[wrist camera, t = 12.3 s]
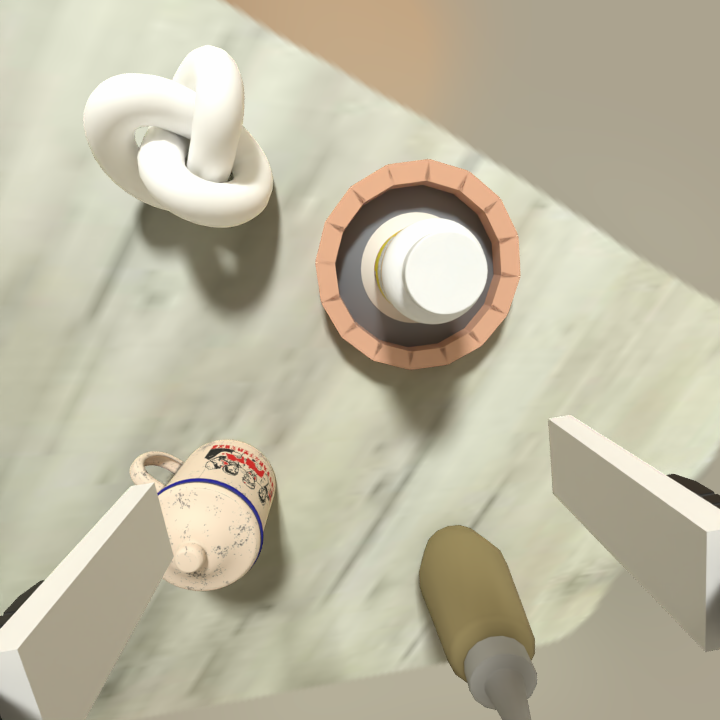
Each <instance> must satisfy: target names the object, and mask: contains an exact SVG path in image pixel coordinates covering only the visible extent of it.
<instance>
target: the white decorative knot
mask: <svg viewBox="0 0 720 720" xmlns="http://www.w3.org/2000/svg"><path fill="white" fill-rule="evenodd" d="M243 116H244V85H243V81H242V78H241V75H240V72H239V69H238V66H237V64H236V62H235V61H234V59H233V58H232V57H231V56H230V55H229V54H228V53H227V52H226V51H225V50H223V49H221V48H217V47H214V46H210V45H206V46H203V47H200V48H197V49H195V50H193V51H191V52H190V53H189V54H188V55H187V56H186V58H185V59H184V60H183V62H182V63H181V65H180V66H179V68H178V70H177V72H176V73H175V75H174V77H173V79H172V80H169V79H166V78H163V77H159V76H154V75H147V74H135V73H129V74H121V75H117V76H114V77H111V78H109V79H107V80H105V81H104V82H102V83H101V84H100V85H99V86H98V87H97V88H96V89H95V90H94V91H93V92H92V94H91V95H90V97H89V99H88V101H87V103H86V106H85V108H84V116H83V125H84V130H85V135H86V138H87V141H88V144H89V147H90V149H91V151H92V154H93V156H94V158H95V160H96V161H97V163H98V164H99V165H100V167H101V168H102V170H103V171H104V172H105V173H106V174H107V175H108V177H109V178H110V179H111V180H112V181H113V182H114V183H115V184H117V185H118V186H119V187H120V188H122V189H123V190H124V191H125V192H127V193H128V194H130V195H132V196H133V197H135V198H136V199H138V200H140V201H142V202H145V203H147V204H149V205H151V206H153V207H156V208H160V209H163V210H168V211H170V212H171V213H173V214H174V215H176V216H178V217H180V218H182V219H184V220H187V221H190V222H193V223H195V224H198V225H203V226H208V227H219V228H226V227H233V226H238V225H241V224H243V223H246V222H248V221H250V220H251V219H253V218H254V217H256V216H257V215H259V214H260V213H261V212H262V211H263V210H264V208H265V207H266V206H267V204H268V201H269V198H270V195H271V193H272V190H273V176H272V171H271V168H270V165H269V162H268V160H267V158H266V156H265V154H264V152H263V150H262V149H261V147H260V146H259V144H258V143H257V142H256V140H255V139H254V138H253V136H252V135H251V134H250V133H249V132H248V131H247V130H246V129H245V127H243V126H242V124H243ZM147 126H150V127H149V128H148V130H147V132H146V134H145V136H144V138H143V140H142V143H141V145H140V148H139V147H138V145H137V143H136V141H135V131H136V130H137V129H138V128H141V127H147ZM188 152H189V153H188ZM187 155H188V158H187ZM186 158H187V162H186V165H185V161H186ZM231 171H232V174H233V178H234V179H233V180H232V181H229V182H227V181H228V179H229V176H230V173H231Z"/></svg>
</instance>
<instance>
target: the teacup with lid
mask: <svg viewBox="0 0 720 720" xmlns="http://www.w3.org/2000/svg"><path fill="white" fill-rule="evenodd" d="M148 465H156V466H160V467H163V468H165V469H167V470H169V471H171V472H172V473H174V474H175V475H174V477H173V478H172V479H171V480H170V482H169V483H168V484H167V485H164V484H162V483H161V482H159V481H158V480H156V479H155V478H153V477H152V476H151V475H150V474H148V472H147V471H146V470H145V468H144V466H148ZM130 476H131V478H132V480H133V482H134V483H135V484H136V485H141V484H147V483H153V482H154V483H155V487H156V491H157V494H158V498H159V502H160V506H161V510H162V513H163V517H164V521H165V525H166V529H167V532H168V536H169V540H170V544H171V548H172V551H173V555H174V557H173V559H172V561H171V563H170V565H169V567H168V568H167V570H166V572H165V574H164V576H163V579H164V580H166V581H167V582H169V583H171V584H173V585H175V586H178V587H181V588H184V589H188V590H194V591H210V590H216V589H219V588H223V587H225V586H228V585H230V584H232V583H234V582H236V581H237V580H239V579H240V578H241V577H243V576H244V575H245V574H246V573H247V572H248V571H249V570H250V569H251V568H252V566H253V565H254V564H255V562H256V560H257V559H258V557H259V554H260V552H261V549H262V544H263V531H264V528H265V524H266V521H267V518H268V514H269V511H270V508H271V504H272V501H273V498H274V494H275V488H276V482H275V475H274V472H273V469H272V467H271V465H270V463H269V462H268V460H267V459H266V458H265V456H264V455H263V454H262V453H261V452H260V451H258V450H257V449H256V448H254V447H252V446H250V445H249V444H246V443H244V442H240V441H236V440H217V441H213V442H210V443H207V444H205V445H203V446H201V447H200V448H198V449H197V450H196V451H194V452H193V453H192V454H191V455H190V457H189V458H188V459H187V460H186V462H183V461H181V460H179V459H178V458H176V457H174V456H172V455H170V454H167V453H164V452H147V453H144V454H142V455H140V456H138V457H137V458H136V459H135V461H134V462H133V463H132V465H131V467H130Z"/></svg>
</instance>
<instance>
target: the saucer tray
mask: <svg viewBox="0 0 720 720" xmlns="http://www.w3.org/2000/svg"><path fill="white" fill-rule="evenodd" d="M428 218H443V219H448V220H452V221H455V222H457V223H459V224H461V225H462V226H464V227H465V228H467V229H468V230H469V231H470V232H471V233H472V234H473V235H474V236H475V237H476V239H477V240H478V241H479V243H480V245H481V247H482V249H483V252H484V255H485V258H486V261H487V269H488V273H487V280H486V284H485V287H484V290H483V292H482V293H481V295H480V297H479V298H478V300H477V301H476V303H475V304H474V305H473V306H472V307H471V308H470V309H469V310H468V311H467V312H466V313H464V314H463V315H462V316H460V317H458V318H456V319H454V320H452V321H449V322H446V323H441V324H424V323H420V322H417V321H414V320H411V319H409V318H408V317H406V316H404V315H403V314H402V313H400V312H399V311H398V310H397V309H396V308H395V307H394V306H393V305H391V304H390V303H389V302H388V301H387V300H386V299H385V298H384V297H383V295H382V294H381V293H380V291H379V289H378V287H377V284H376V281H375V276H374V265H375V260H376V256H377V254H378V252H379V250H380V248H381V246H382V245H383V244H384V243H385V241H386V240H387V239H388V238H390V237H391V236H392V235H394V234H395V233H397V232H398V231H400V230H402V229H404V228H405V227H407V226H409V225H410V224H412V223H415V222H417V221H420V220H423V219H428ZM517 235H518V234H517V232H516V230H515V228H514V225H513V223H512V221H511V219H510V217H509V215H508V213H507V211H506V209H505V207H504V205H503V202H502V200H501V199H500V197H499V196H497V195H496V194H495V193H494V192H493V191H492V190H490V189H489V188H488V187H487V186H486V185H485V184H484V183H482V182H481V181H480V180H479V179H478V178H477V177H475V176H474V175H473V174H472V173H471V172H470V171H469V172H468V171H467V170H464V169H461V168H457V167H454V166H451V165H447V164H444V163H441V162H437V161H434V160H431V159H426V160H418V161H411V162H403V163H395V164H388V165H386V166H384V167H382V168H381V169H379V170H377V171H376V172H374V173H372V174H371V175H369V176H367V177H366V178H364V179H362V180H361V181H359V182H357V183H356V184H354V185H353V186H351V187H350V188H349V189H348V191H347V192H346V194H345V195H344V196H343V198H342V199H341V200H340V202H339V203H338V205H337V206H336V207H335V209H334V210H333V211H332V213H331V214H330V216H329V217H328V218H327V220H326V222H325V225H324V229H323V233H322V237H321V241H320V245H319V249H318V253H317V257H316V261H315V262H318V263H315V264H316V271H317V277H318V284H319V291H320V298H321V302H322V305H323V307H324V308H325V310H326V312H327V313H328V315H329V317H330V319H331V320H332V322H333V324H334V325H335V327H336V329H337V330H338V332H339V334H340V335H341V336H342V338H343V339H345V340H346V341H347V342H349V343H350V344H351V345H353V346H354V347H355V348H357V349H358V350H359V351H361V352H362V353H363V354H365V355H366V356H367V357H369V358H370V359H371V360H372V359H373V361H377V362H381V363H385V364H389V365H392V366H396V367H400V368H404V369H408V370H409V369H410V370H413V369H420V368H428V367H435V366H443V365H447V364H450V363H452V362H454V361H455V360H457V359H459V358H461V357H463V356H464V355H466V354H468V353H470V352H472V351H473V350H475V349H477V348H479V347H481V345H483V344H484V343H485V341H486V340H487V339H488V338H489V337H490V335H491V334H492V333H493V332H494V331H495V329H496V328H497V327H498V326H499V325H500V323H501V322H502V321H503V320H504V319H505V317H506V316H507V315H506V314H508V312H509V309H510V306H511V303H512V300H513V297H514V294H515V291H516V288H517V285H518V282H519V279H520V277H519V276H520V259H519V240H518V236H517Z"/></svg>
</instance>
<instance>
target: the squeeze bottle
mask: <svg viewBox="0 0 720 720" xmlns="http://www.w3.org/2000/svg"><path fill="white" fill-rule="evenodd" d="M419 578H420V589H421V591H422V594H423V597H424V599H425V602H426V605H427V607H428V610H429V612H430V615H431V618H432V620H433V623H434V626H435V628H436V631H437V633H438V636H439V639H440V641H441V644H442V647H443V649H444V652H445V654H446V657H447V660H448V662H449V664H450V666H451V667H452V669H453V671H454V673H455V674H456V675H457V676H458V677H460V678H461V679H463V680H464V681H465V682H467V683H468V686H469V690H470V692H471V694H472V695H473V697H474V699H475V700H476V701H477V702H478V703H480V704H481V705H483V706H484V707H487V708H491V709H495V710H497V711H498V713H499V715H500V716H501V718H502V720H531V716H530V711H529V705H528V700H527V699H528V698H529V697H530V696H531V695H532V693H533V691H534V689H535V687H536V685H537V673H536V670H535V668H534V666H533V664H532V662H531V660H532V658H533V656H534V654H535V638H534V635H533V633H532V630H531V627H530V625H529V622H528V619H527V617H526V614H525V611H524V608H523V606H522V603H521V600H520V598H519V595H518V592H517V590H516V587H515V584H514V582H513V579H512V576H511V573H510V571H509V568H508V565H507V563H506V561H505V559H504V557H503V555H502V553H501V551H500V550H499V549H498V548H496V547H495V546H494V545H493V544H491V543H490V542H489V541H488V540H486V539H485V538H483V537H482V536H481V535H479V534H478V533H476V532H475V531H474V530H472V529H471V528H468V527H464V526H461V525H456V526H447V527H445V528H443V529H441V530H438V531H437V532H436V533H435V534H434V535H433V536H432V537H431V538H430V539H429V540H428V543H427V545H426V548H425V551H424V555H423V559H422V563H421V567H420V571H419Z"/></svg>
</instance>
